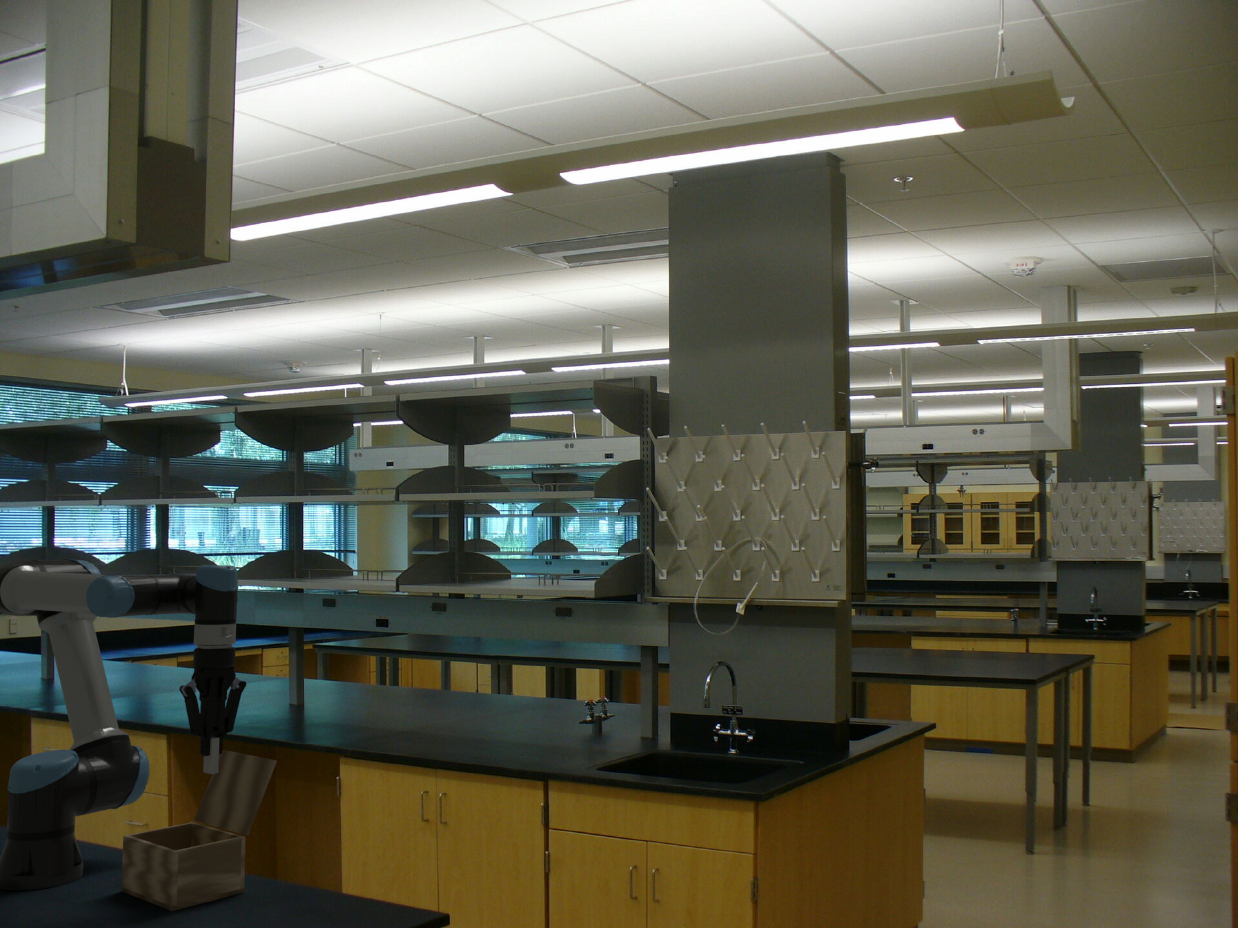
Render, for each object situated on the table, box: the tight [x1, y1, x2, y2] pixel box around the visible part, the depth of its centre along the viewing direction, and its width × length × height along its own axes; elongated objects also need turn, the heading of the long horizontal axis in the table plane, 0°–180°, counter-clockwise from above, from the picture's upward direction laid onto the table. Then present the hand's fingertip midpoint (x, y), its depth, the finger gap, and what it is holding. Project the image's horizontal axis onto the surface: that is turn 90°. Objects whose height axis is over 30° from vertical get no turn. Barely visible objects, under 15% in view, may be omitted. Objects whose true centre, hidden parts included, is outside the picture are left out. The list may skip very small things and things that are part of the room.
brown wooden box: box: [120, 821, 246, 912], centre depth 207 cm, size 18×14×10 cm
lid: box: [193, 749, 278, 837], centre depth 216 cm, size 18×14×1 cm
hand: (210, 772), depth 212 cm, fingers closed
